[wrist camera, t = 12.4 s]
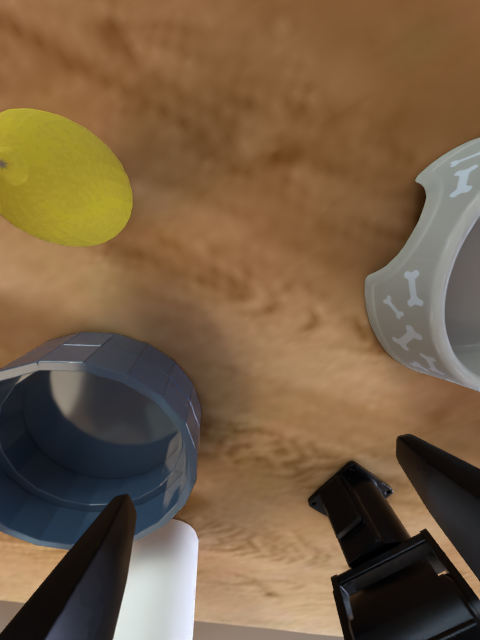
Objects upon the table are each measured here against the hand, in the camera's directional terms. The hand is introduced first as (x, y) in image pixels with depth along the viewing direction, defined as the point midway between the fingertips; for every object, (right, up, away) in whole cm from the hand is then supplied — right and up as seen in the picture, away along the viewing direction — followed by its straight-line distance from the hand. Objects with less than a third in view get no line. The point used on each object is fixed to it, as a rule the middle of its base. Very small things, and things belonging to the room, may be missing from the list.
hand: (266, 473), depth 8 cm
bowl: (-12, -3, +12) cm, 17 cm away
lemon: (-10, +13, +8) cm, 18 cm away
